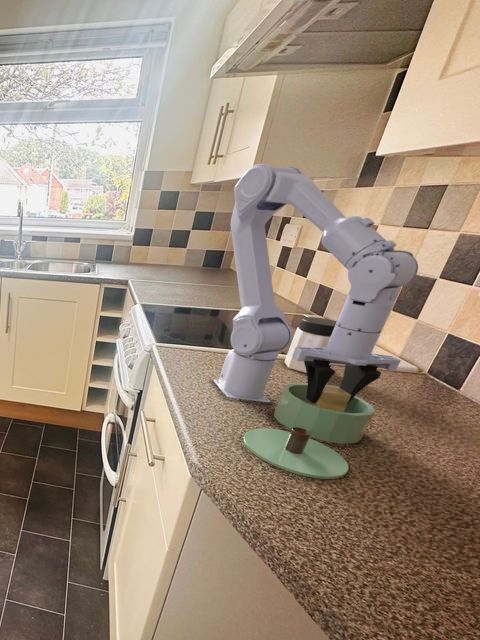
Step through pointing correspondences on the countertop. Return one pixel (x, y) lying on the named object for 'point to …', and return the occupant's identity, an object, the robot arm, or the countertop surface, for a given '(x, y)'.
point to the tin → (323, 416)
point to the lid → (295, 452)
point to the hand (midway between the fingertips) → (325, 402)
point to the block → (332, 398)
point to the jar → (309, 338)
